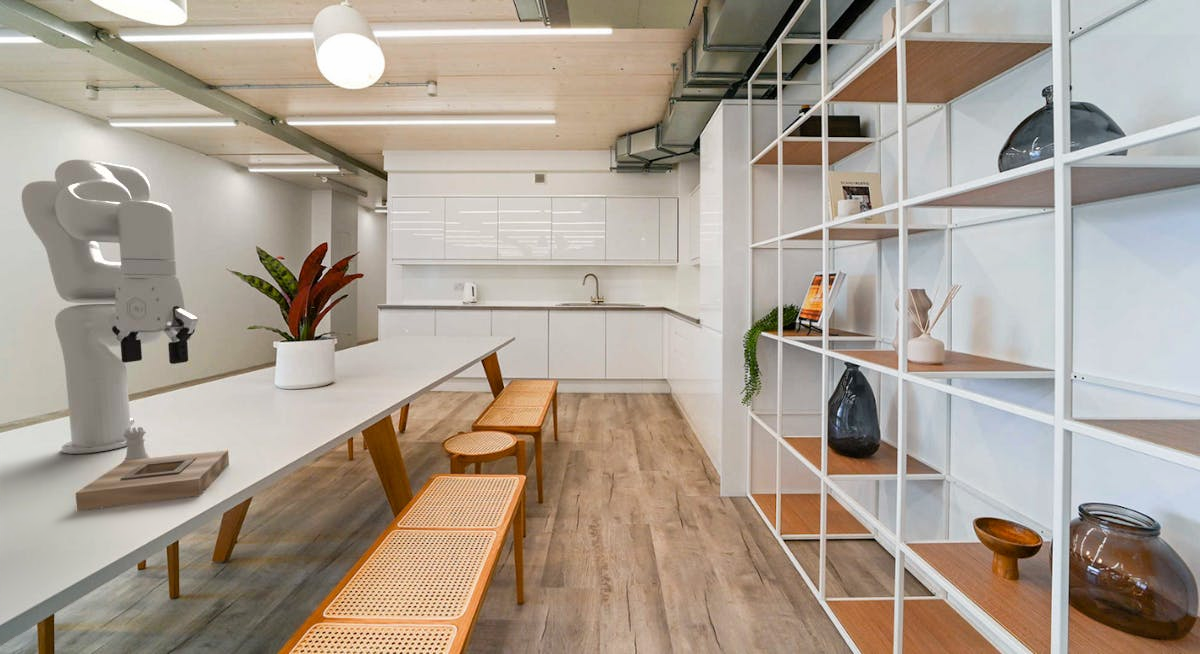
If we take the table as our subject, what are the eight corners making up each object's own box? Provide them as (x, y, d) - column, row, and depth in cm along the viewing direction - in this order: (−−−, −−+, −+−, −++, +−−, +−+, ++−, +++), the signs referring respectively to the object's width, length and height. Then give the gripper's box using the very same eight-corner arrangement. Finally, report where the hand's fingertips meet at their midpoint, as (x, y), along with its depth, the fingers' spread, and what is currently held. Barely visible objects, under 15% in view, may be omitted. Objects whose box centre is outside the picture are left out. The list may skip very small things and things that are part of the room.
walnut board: (127, 475, 95) (125, 458, 95) (229, 464, 101) (228, 448, 101) (77, 511, 80) (75, 491, 80) (199, 495, 86) (198, 477, 86)
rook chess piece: (133, 473, 96) (130, 432, 95) (115, 472, 97) (112, 431, 96) (158, 465, 100) (155, 426, 100) (140, 464, 101) (137, 425, 101)
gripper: (84, 269, 90) (92, 364, 91) (172, 269, 88) (178, 366, 89) (128, 270, 97) (134, 358, 99) (210, 271, 95) (215, 360, 97)
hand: (155, 362), depth 94 cm, fingers open, 9 cm apart
